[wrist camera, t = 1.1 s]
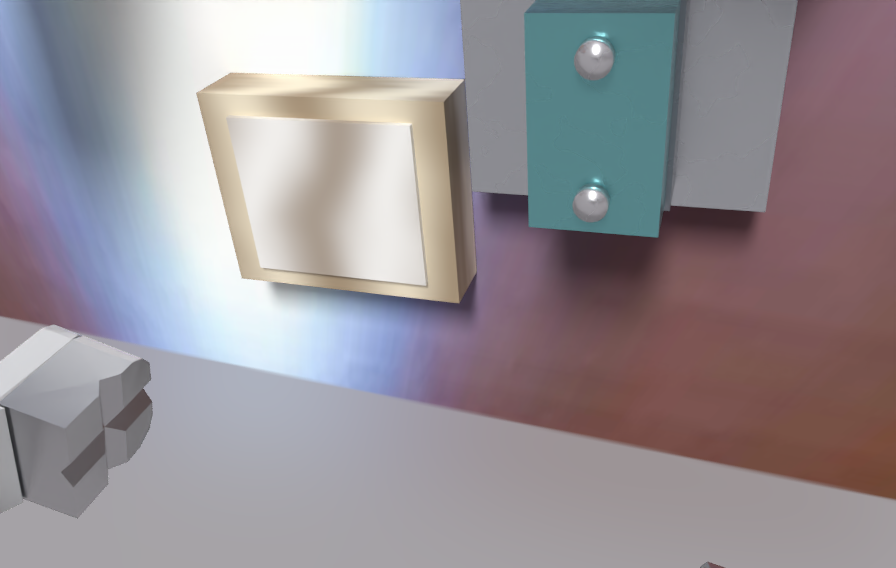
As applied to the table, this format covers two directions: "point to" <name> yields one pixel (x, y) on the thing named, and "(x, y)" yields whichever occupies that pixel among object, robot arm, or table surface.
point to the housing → (603, 112)
